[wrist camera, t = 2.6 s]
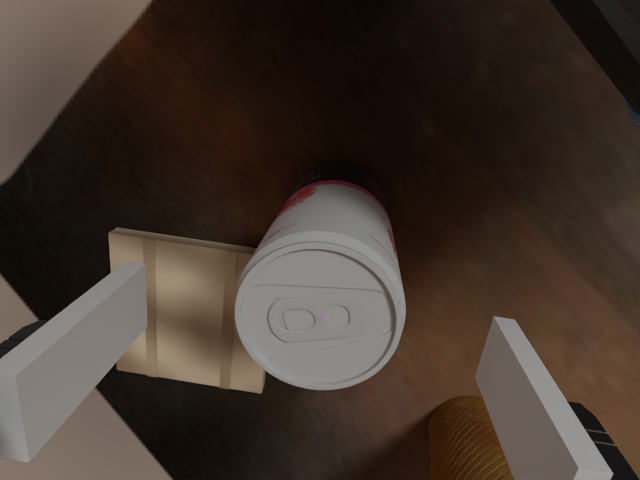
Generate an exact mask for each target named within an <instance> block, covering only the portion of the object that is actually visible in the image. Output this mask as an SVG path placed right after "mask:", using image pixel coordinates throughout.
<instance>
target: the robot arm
mask: <svg viewBox="0 0 640 480" xmlns="http://www.w3.org/2000/svg"><path fill="white" fill-rule="evenodd" d="M550 1H551V3H552V4H553V5H554V7H555V8H556V9H557V10H558V12H559V13H560V14H561V16H562V17H563V18H564V20H565V21H566V22H567V24H568V25H569V26H570V27H571V29H572V30H573V31H574V33H575V34H576V35H577V37H578V38H579V39H580V41H581V42H582V43H583V45H584V46H585V47H586V48H587V50H588V51H589V52H590V54H591V55H592V56H593V58H594V59H595V60H596V62H597V63H598V64H599V65H600V67H601V68H602V69H603V71H604V72H605V73H606V75H607V76H608V77H609V79H610V80H611V81H612V83H613V84H614V85H615V86H616V88H617V89H618V90H619V92H620V93H621V94H622V98H623V100H624V102H625V105H626V107H627V108H628V111H629V114H630V116H631V118H632V119H633V120H634V122H635V123H636V124H637V125H638V126H639V127H640V0H550ZM146 327H147V287H146V264H143V263H136V262H130V261H126V262H124V263H123V264H122V265H120V266H119V267H118V268H117V269H115V270H114V271H113V272H111V273H110V274H109V275H108V276H106V277H105V278H104V279H102V280H101V281H100V282H99V283H97V284H96V285H95V286H93V287H92V288H91V289H90V290H88V291H87V292H86V293H84V294H83V295H82V296H81V297H79V298H78V299H77V300H75V301H74V302H73V303H72V304H70V305H69V306H68V307H66V308H65V309H64V310H63V311H61V312H60V313H59V314H57V315H56V316H55V317H54V318H52V319H51V320H50V321H46V320H39V321H37V322H35V323H32V324H30V325H27V326H25V327H23V328H21V329H20V330H19V331H17V332H16V333H14V334H13V335H12V336H10V337H9V339H8V340H5V341H4V342H2V343H1V344H0V456H1V458H2V459H8V460H14V461H20V462H26V463H30V462H31V460H32V459H33V458H34V457H35V456H36V455H37V454H38V452H39V451H40V450H41V449H42V448H43V447H44V445H45V444H46V443H47V442H48V441H49V440H50V438H51V437H52V436H53V435H54V434H55V433H56V432H57V430H58V429H59V428H60V427H61V426H62V425H63V423H64V422H65V421H66V420H67V419H68V418H69V416H70V415H71V414H72V413H73V412H74V411H75V409H76V408H77V407H78V406H79V405H80V404H81V403H82V401H83V400H84V399H85V398H86V397H87V395H88V394H89V393H90V392H91V391H92V390H93V389H94V388H95V386H96V385H97V384H98V383H99V382H100V381H101V379H102V378H103V377H104V376H105V375H106V374H107V372H108V371H109V370H110V369H111V368H112V367H113V365H114V364H115V363H116V362H117V361H118V360H119V359H120V357H121V356H122V355H123V354H124V353H125V352H126V350H127V349H128V348H129V347H130V346H131V345H132V343H133V342H134V341H135V340H136V339H137V338H138V337H139V335H140V334H141V333H142V332H143V331H144V330H145V328H146ZM475 379H476V381H477V384H478V387H479V389H480V392H481V394H482V397H483V400H484V402H485V405H486V408H487V410H488V413H489V415H490V418H491V421H492V423H493V426H494V428H495V431H496V434H497V436H498V439H499V441H500V444H501V447H502V449H503V452H504V455H505V457H506V460H507V462H508V465H509V468H510V470H511V473H512V475H513V478H514V480H639V478H638V477H637V475H636V474H635V472H634V471H633V470H632V468H631V467H630V465H629V464H628V462H627V461H626V460H625V458H624V457H623V455H622V454H621V452H620V451H619V449H618V448H617V447H616V446H614V442H613V441H612V439H611V438H610V437H609V435H608V434H606V431H605V429H604V428H603V426H602V425H601V424H600V422H599V421H598V419H597V418H596V417H595V416H594V415H593V414H592V413H591V412H590V411H588V410H587V409H586V408H585V407H584V406H583V405H581V404H580V403H574V402H568V401H566V399H565V397H564V396H563V394H562V393H561V391H560V390H559V388H558V386H557V385H556V383H555V382H554V380H553V379H552V377H551V376H550V374H549V372H548V371H547V369H546V368H545V366H544V365H543V363H542V361H541V360H540V358H539V357H538V355H537V354H536V352H535V351H534V349H533V347H532V346H531V344H530V343H529V341H528V340H527V338H526V336H525V335H524V333H523V332H522V330H521V329H520V327H519V326H518V324H517V322H516V321H515V319H508V318H502V317H495V316H494V317H493V320H492V323H491V327H490V330H489V333H488V336H487V340H486V343H485V346H484V349H483V353H482V356H481V359H480V362H479V366H478V369H477V372H476V376H475Z"/></svg>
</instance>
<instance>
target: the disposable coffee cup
mask: <svg viewBox="0 0 640 480" xmlns="http://www.w3.org/2000/svg"><path fill="white" fill-rule="evenodd" d="M429 463H430V480H514V478H513V475H512V473H511V470H510V468H509V465H508V462H507V460H506V457H505V455H504V452H503V449H502V447H501V444H500V441H499V439H498V436H497V434H496V431H495V428H494V426H493V423H492V421H491V418H490V415H489V413H488V410H487V408H486V405H485V402H484V400H483V398H479V397H469V396H466V397H459V398H455V399H452V400H449V401H447V402H445V403H444V404H442V405H441V406H439V407H438V408H437V409H436V410H435V411H434V413H433V414H432V416H431V418H430V421H429Z"/></svg>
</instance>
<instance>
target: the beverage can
mask: <svg viewBox="0 0 640 480" xmlns="http://www.w3.org/2000/svg"><path fill="white" fill-rule="evenodd" d="M405 316H406V303H405V297H404V291H403V286H402V280H401V275H400V270H399V264H398V259H397V254H396V248H395V243H394V238H393V232H392V227H391V222H390V216H389V211H388V205H387V200H386V196H385V192H384V190H383V188H382V186H381V184H380V183H379V181H378V180H377V179H376V177H375V176H374V175H373V174H372V173H371V172H369V171H368V170H367V169H365V168H363V167H362V166H360V165H357V164H355V163H352V162H347V161H330V162H325V163H322V164H319V165H317V166H315V167H313V168H312V169H310V170H309V171H308V172H306V173H305V174H304V175H303V176H302V177H301V179H300V180H299V181H298V183H297V184H296V186H295V188H294V189H293V191H292V192H291V194H290V196H289V197H288V199H287V201H286V202H285V204H284V205H283V207H282V209H281V210H280V212H279V214H278V215H277V217H276V218H275V220H274V222H273V223H272V225H271V226H270V228H269V230H268V231H267V233H266V235H265V236H264V238H263V239H262V241H261V243H260V244H259V246H258V248H257V249H256V251H255V252H254V254H253V256H252V257H251V259H250V261H249V262H248V264H247V265H246V267H245V269H244V271H243V272H242V275H241V277H240V279H239V282H238V286H237V291H236V301H235V323H236V327H237V331H238V334H239V337H240V339H241V341H242V344H243V345H244V347H245V349H246V350H247V352H248V353H249V355H250V356H251V357H252V358H253V359H254V361H255V362H256V363H257V364H258V365H259V366H260V367H262V368H263V369H264V370H265V371H267V372H268V373H269V374H271V375H273V376H274V377H276V378H278V379H280V380H282V381H284V382H286V383H289V384H291V385H294V386H298V387H302V388H306V389H313V390H334V389H341V388H345V387H349V386H352V385H355V384H358V383H360V382H362V381H364V380H366V379H368V378H370V377H371V376H373V375H374V374H375V373H377V372H378V371H379V370H380V369H381V368H382V367H383V366H384V365H385V364H386V363H387V362H388V361H389V360H390V358H391V357H392V355H393V354H394V352H395V350H396V348H397V346H398V343H399V340H400V337H401V333H402V330H403V327H404V323H405Z"/></svg>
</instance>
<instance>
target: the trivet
mask: <svg viewBox="0 0 640 480" xmlns="http://www.w3.org/2000/svg"><path fill="white" fill-rule="evenodd" d="M108 235H109V251H110V267H111V272H113V271H114V270H115V269H117V268H118V267H119V266H120V265H122V264H123V263H124V262H126V261H130V262H136V263H143V264H146V287H147V327H146V328H145V330H144V331H143V332H142V333H141V334H140V335H139V337H138V338H137V339H136V340H135V341H134V342H133V343H132V345H131V346H130V347H129V348H128V349H127V350H126V352H125V353H124V354H123V355H122V356H121V357H120V359H119V360H118V361H117V362H116V365H117V370H120V371H126V372H132V373H139V374H145V375H147V376H151V377H163V378H169V379H175V380H181V381H187V382H193V383H199V384H205V385H211V386H218V387H220V388H224V389H236V390H242V391H248V392H254V393H260V394H262V391H263V387H264V384H265V375H266V371H265V370H264V369H263V368H262V367H260V366H259V365H258V364H257V363H256V362H255V361H254V359H253V358H252V357H251V356H250V355H249V353H248V352H247V350H246V349H245V347H244V345H243V344H242V341H241V339H240V337H239V334H238V331H237V327H236V323H235V301H236V291H237V286H238V282H239V279H240V277H241V275H242V272H243V271H244V269H245V267H246V265H247V264H248V262H249V261H250V259H251V257H252V256H253V254H254V252H255V251H256V249H257V248H251V247H245V246H238V245H231V244H225V243H218V242H211V241H205V240H198V239H191V238H185V237H178V236H171V235H165V234H158V233H151V232H144V231H138V230H131V229H124V228H118V227H117V228H116V229H114V230H112V231H111V232H109V233H108Z"/></svg>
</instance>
